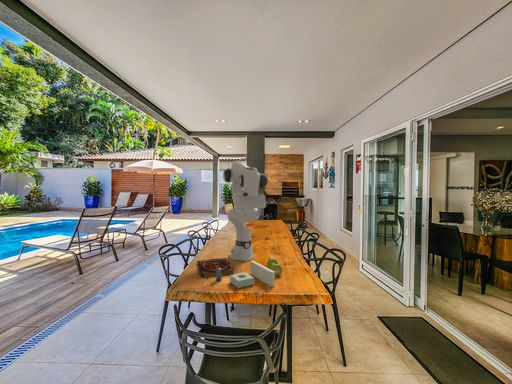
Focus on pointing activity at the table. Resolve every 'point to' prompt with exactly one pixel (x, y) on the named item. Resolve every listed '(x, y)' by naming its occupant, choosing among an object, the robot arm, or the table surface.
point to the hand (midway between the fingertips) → (251, 216)
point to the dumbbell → (274, 266)
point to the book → (214, 267)
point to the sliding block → (242, 280)
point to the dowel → (218, 274)
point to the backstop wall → (262, 273)
